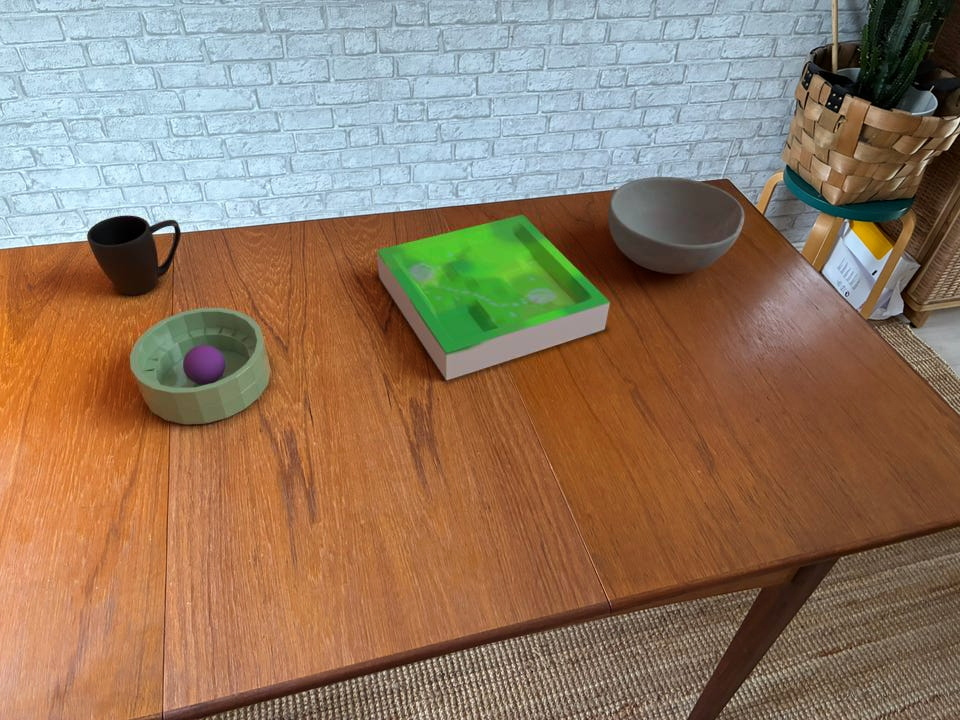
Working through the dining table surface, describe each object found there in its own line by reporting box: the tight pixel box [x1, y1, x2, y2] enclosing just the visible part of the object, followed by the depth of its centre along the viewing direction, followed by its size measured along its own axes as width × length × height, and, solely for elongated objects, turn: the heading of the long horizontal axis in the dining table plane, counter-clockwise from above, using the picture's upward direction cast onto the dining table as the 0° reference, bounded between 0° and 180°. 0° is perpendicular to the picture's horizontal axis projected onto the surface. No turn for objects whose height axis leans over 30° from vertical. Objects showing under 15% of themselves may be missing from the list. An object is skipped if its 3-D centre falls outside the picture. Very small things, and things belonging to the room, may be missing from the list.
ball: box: [183, 345, 225, 385], centre depth 89 cm, size 5×5×5 cm
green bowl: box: [129, 307, 272, 425], centre depth 89 cm, size 16×16×6 cm
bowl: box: [607, 176, 745, 275], centre depth 111 cm, size 20×20×10 cm
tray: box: [376, 214, 611, 381], centre depth 103 cm, size 25×25×5 cm
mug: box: [86, 214, 182, 297], centre depth 103 cm, size 8×12×10 cm
